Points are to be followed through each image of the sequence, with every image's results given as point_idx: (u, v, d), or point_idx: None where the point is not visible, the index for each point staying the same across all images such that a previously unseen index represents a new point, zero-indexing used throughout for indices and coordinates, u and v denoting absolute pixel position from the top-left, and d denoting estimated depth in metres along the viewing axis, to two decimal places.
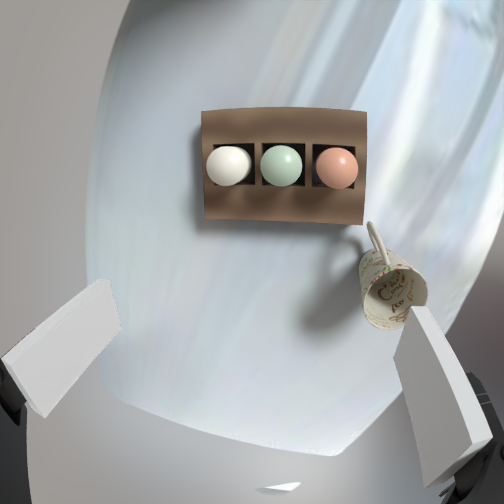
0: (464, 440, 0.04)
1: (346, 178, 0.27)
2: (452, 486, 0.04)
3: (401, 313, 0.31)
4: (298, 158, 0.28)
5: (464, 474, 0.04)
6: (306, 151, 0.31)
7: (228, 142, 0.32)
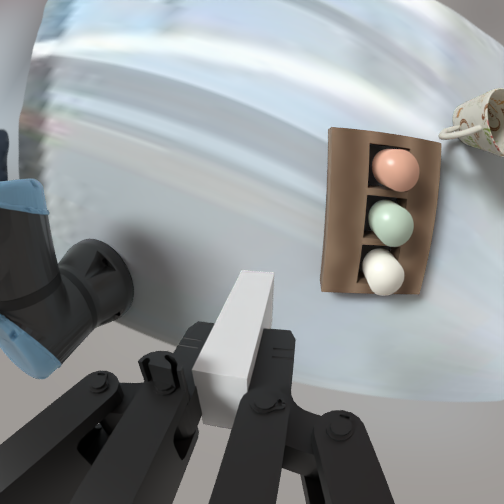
0: None
1: (410, 162, 0.24)
2: None
3: None
4: (390, 209, 0.26)
5: None
6: (375, 194, 0.29)
7: (357, 268, 0.33)
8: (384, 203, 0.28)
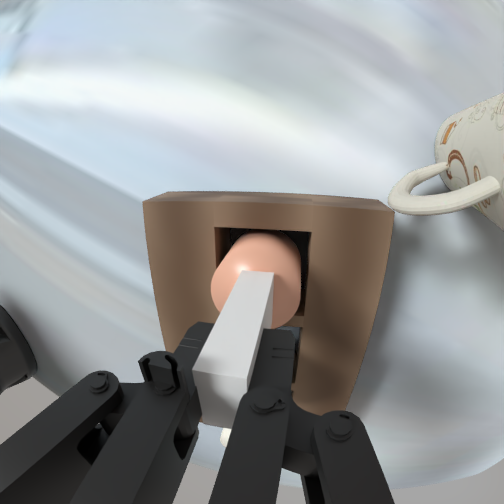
0: None
1: (275, 278, 0.13)
2: None
3: None
4: None
5: None
6: None
7: None
8: None
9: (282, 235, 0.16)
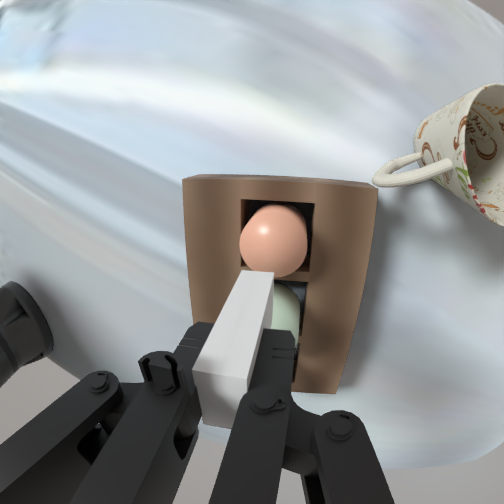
0: None
1: (288, 233, 0.18)
2: None
3: None
4: None
5: None
6: None
7: None
8: None
9: (292, 207, 0.20)
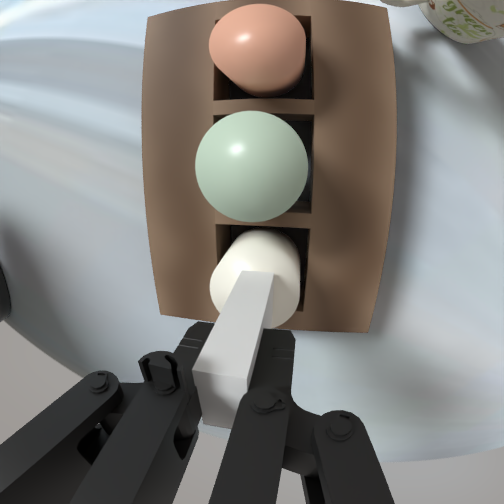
0: None
1: (277, 22, 0.09)
2: None
3: None
4: (227, 120, 0.10)
5: None
6: (231, 111, 0.13)
7: None
8: None
9: None
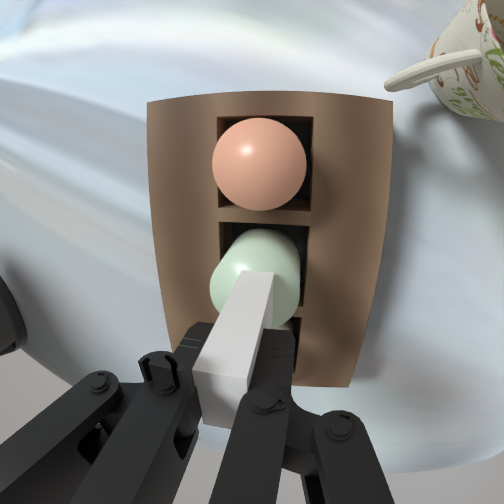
0: None
1: (279, 144, 0.12)
2: None
3: None
4: (235, 258, 0.13)
5: None
6: (234, 220, 0.16)
7: None
8: (245, 238, 0.15)
9: None
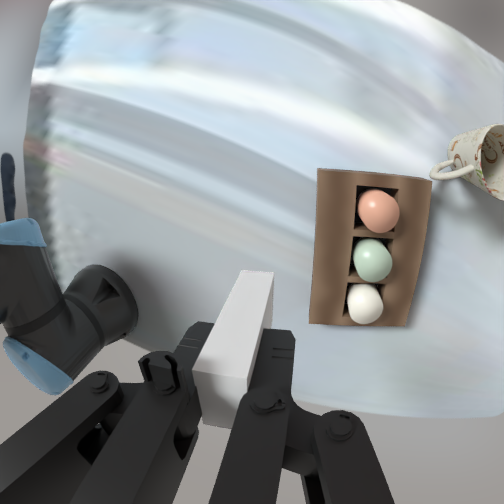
0: None
1: (390, 205, 0.27)
2: None
3: None
4: (369, 249, 0.29)
5: None
6: (360, 235, 0.31)
7: (343, 303, 0.35)
8: (366, 241, 0.31)
9: None
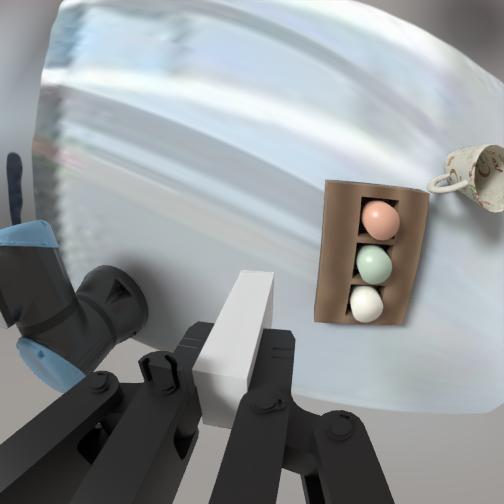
0: None
1: (391, 215, 0.30)
2: None
3: None
4: (372, 254, 0.32)
5: None
6: (364, 242, 0.34)
7: (346, 303, 0.38)
8: (368, 247, 0.34)
9: (384, 202, 0.33)
